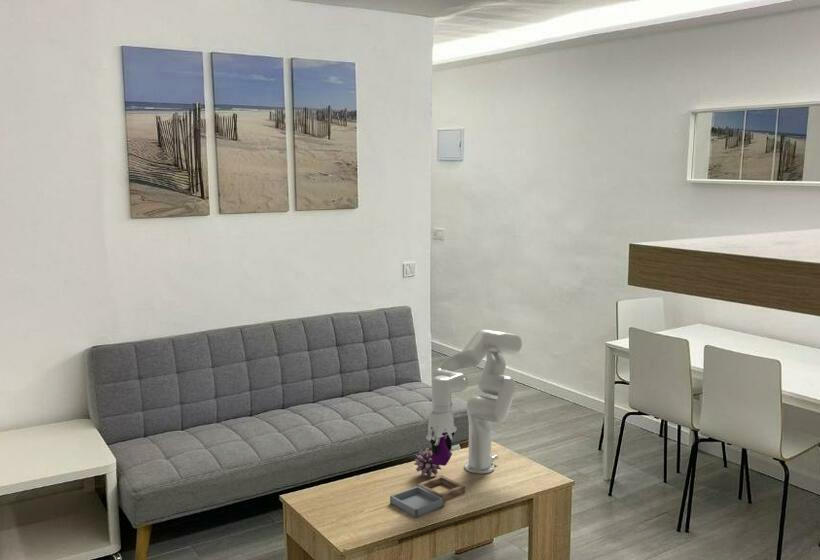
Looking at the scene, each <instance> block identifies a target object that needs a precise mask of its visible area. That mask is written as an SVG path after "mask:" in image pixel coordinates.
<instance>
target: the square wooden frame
mask: <svg viewBox="0 0 820 560" xmlns="http://www.w3.org/2000/svg"><path fill="white" fill-rule="evenodd" d="M441 484H442V485H443V486H446V487H448V488H450V489H448V490H445V491H442V492H441V493H440V492H438V491H436V490H434V489H432V487H436V486H438V485H441ZM416 486H419V487H421V488H423V489H425V490H427V491H429V492H431V493H433V494H435V495H437V496H439V497H441V498H443V499H444V501H447V500H449V499H451V498H454V497H456V496H459V495H462V494H464V493H466V486H465V485H463V484H461V483H460V482H457V481H455V480H453V479H451V478H448V477H446V476H444V475H443V474H441V475H438V476H436V477H433V478H431V479H428V480H425V481H422V482H419V483H417V484H416V485H415V487H416Z"/></svg>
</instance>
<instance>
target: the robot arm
mask: <svg viewBox="0 0 820 560" xmlns="http://www.w3.org/2000/svg"><path fill="white" fill-rule="evenodd" d="M522 344H523V342H522V338H521V337H520V335H518V334H515V333H510V332H504V331H500V330H499V331H498V330H490V329H480V330H478V331H477V332H476V333H475V334H474V335H473V337H472V338H471V339H470V340H469V342H468V343H467V344H466V346H465V347H464V348H463V349H462V350H461V351H458V352H456V353H455V354H452V355H450V356H448V357H446V358H445V359H444V360H443V361H441V363H440V364H439V365H438V366H437V368H436V369H435V370H434V373H433V375H432V380H431V411H430V412H429V413H430V414H429V417H428V426H427V429H428V432H427V435H426V437H425V439H426V440H427V441H428V442H429V443H430V444H431V451H432V453H435V454H436V455H438V454H439V446H438V445H439V441H440V438H441V437H443V435H442V433H446V432H448V434H447V435H445V444H446V446H447V448H448V449H449V450H450V451H452V450H453V449H452V444H453V443H452V441H453V440H454V436H455V433H456V432H457V430H458V427H457V426H455V420H454V419H455V418H454V413H453V410H452V406H453V402H452V394H456V393H460V392H463V391H465V389H467V387H468V384H469V379H468V377H467V376H466V375H465V374H464V373H462V372H457V371H458V370H463V369H468V368H474V367H477V366H478V365H479V364H480V363H481V362H482V360H483V359H484V358H485V356H486V362H485V365H484V368H483V370H482V372H481V376H480V379H479V382H478V387H477V388H478V391H479V392H480V393H481V394H484V395H487V396H484V395H472V396H471V397H470V398H469V399H467V404H466V412H467V419H468V457H467V458H468V460H467V461H466V462H465V463H464V469H465V470H466V471H468V472H470V473H472V474H483V475H484V474H489V473H491V472H494V470H495V464H494V463H493V462H494V461H496V460H499V455H497V454H495V455H492V426H491V423H494V424H502V423H503V422H505V420H506V419H507V416H508V414H509V412H510V409H511V405H512V402H513V400H514V397H515V393H516V390H517V389H516V388H517V385H516V381H515V380H514V378H512V377H511V376H509V375H504V373H505V369H506V366H507V365H506V360H505V358H504V355H505V354H507V355H516V354H518V353H519V352H520V351H521V349H522V346H523V345H522ZM503 354H504V355H503ZM488 396H491V397H494V398H491V397H488ZM496 398H497V399H496ZM490 422H491V423H490ZM445 429H446V430H445Z"/></svg>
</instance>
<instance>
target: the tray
mask: <svg viewBox="0 0 820 560" xmlns="http://www.w3.org/2000/svg"><path fill="white" fill-rule="evenodd" d="M389 503H390V505H392V506H394V507H396V508H398V509H399V510H401V511H403V512H404V513H407V514H408V515H410V516H412V517H414V518H420V517H422V516H424V515H426V514H429V513H431V512H433V511H436V510H438V509H439V510H440V509H441V508H444V507H445V500H444V499H443V498H441V497H439V496H437V495H435V494H433V493H431V492H429V491H427V490H425V489H423V488H421V487H419V486H416V485H415V486H414V487H411V488H409V489H406V490H404V491H400V492H398V493H395V494H393V495H390V497H389Z"/></svg>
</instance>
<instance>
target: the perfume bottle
mask: <svg viewBox="0 0 820 560" xmlns="http://www.w3.org/2000/svg"><path fill="white" fill-rule="evenodd" d="M445 430H446V429H445ZM447 434H448V432H446V433H442V435H443V437H441V438H439V441H438V444H437V445H438V446H439V454H438V455H436V454H435V453H432V455H431V459H432V460H433V462H434V464H436V465H439V466H442V467H443V466H447V465H448V463H449V461H450V460H451V457H452V455H453V453H452V452H451V450H449V449H448V448H447V446H446V444H445V438H446V436H445V435H447Z"/></svg>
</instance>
